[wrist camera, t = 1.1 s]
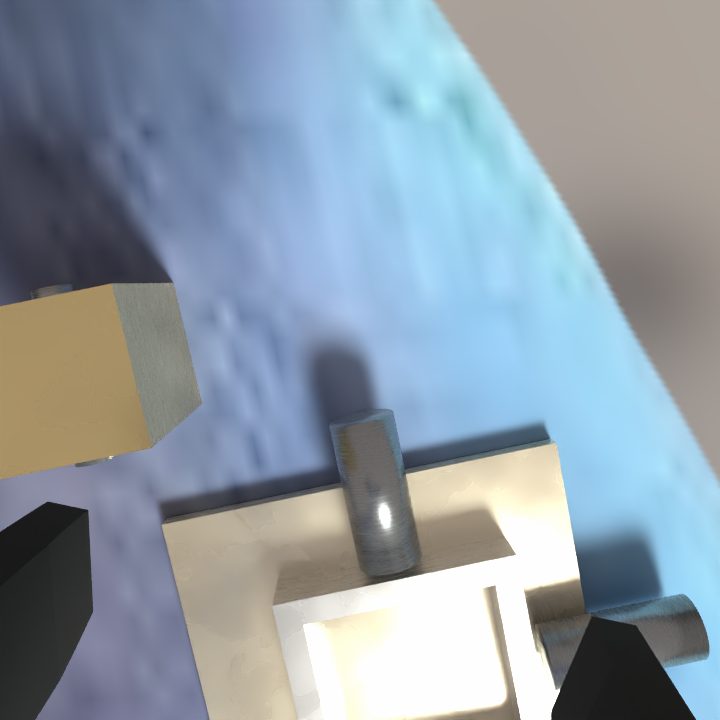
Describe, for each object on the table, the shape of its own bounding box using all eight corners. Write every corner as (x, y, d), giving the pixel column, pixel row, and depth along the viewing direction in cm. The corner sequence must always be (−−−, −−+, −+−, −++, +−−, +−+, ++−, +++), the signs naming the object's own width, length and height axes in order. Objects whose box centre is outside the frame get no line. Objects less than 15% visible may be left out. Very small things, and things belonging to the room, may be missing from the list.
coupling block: (84, 437, 23) (-9, 493, 17) (48, 299, 22) (-61, 305, 16) (204, 412, 23) (154, 459, 17) (171, 273, 22) (108, 270, 16)
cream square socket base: (252, 867, 24) (241, 937, 22) (150, 451, 23) (125, 473, 20) (696, 774, 24) (738, 833, 22) (628, 352, 23) (665, 362, 20)
